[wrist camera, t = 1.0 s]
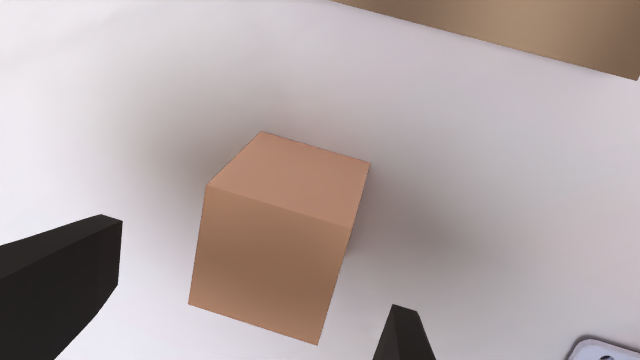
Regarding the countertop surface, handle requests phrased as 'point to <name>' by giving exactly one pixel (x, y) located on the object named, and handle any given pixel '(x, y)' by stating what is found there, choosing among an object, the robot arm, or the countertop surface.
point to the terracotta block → (276, 235)
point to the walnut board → (536, 27)
